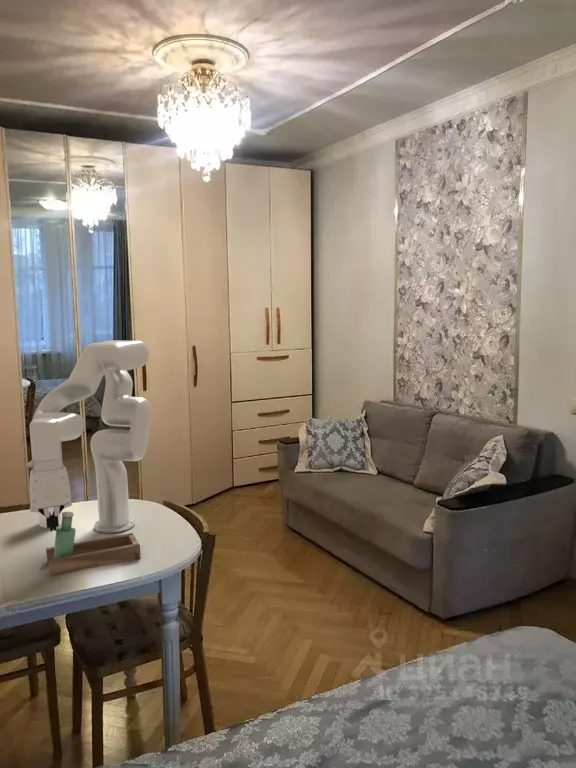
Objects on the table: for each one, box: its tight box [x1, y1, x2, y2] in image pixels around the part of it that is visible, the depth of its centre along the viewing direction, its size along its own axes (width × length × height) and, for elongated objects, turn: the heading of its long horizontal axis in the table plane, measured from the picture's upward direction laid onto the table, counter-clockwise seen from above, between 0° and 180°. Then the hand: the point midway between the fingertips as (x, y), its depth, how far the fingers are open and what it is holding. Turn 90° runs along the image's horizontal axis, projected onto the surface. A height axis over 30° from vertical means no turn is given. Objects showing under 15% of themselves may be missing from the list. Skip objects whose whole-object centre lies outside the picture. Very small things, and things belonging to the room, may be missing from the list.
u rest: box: [45, 532, 141, 577], centre depth 178 cm, size 10×24×4 cm, turn 115°
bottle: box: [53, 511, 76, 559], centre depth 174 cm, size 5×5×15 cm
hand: (53, 529), depth 172 cm, fingers closed
